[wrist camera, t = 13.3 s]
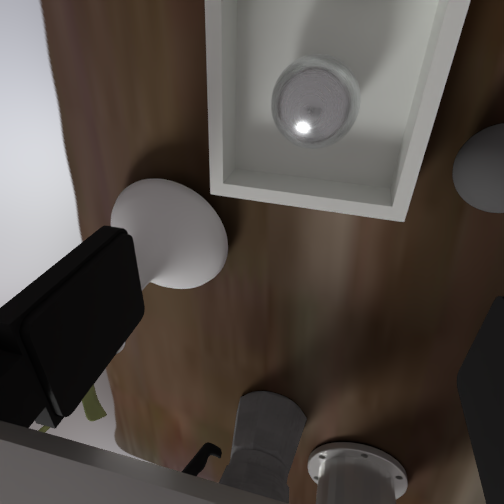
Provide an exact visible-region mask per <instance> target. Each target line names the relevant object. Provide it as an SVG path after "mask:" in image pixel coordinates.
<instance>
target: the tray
mask: <svg viewBox="0 0 504 504" xmlns="http://www.w3.org/2000/svg"><path fill="white" fill-rule="evenodd" d="M470 1H471V0H205V26H206V60H207V95H208V129H209V164H210V194H212V195H219V196H226V197H233V198H240V199H247V200H254V201H261V202H268V203H275V204H282V205H289V206H296V207H303V208H310V209H316V210H323V211H330V212H337V213H344V214H351V215H358V216H365V217H372V218H379V219H386V220H393V221H400V222H404V221H405V217H406V214H407V211H408V207H409V204H410V201H411V197H412V194H413V191H414V187H415V184H416V181H417V177H418V174H419V171H420V167H421V164H422V161H423V157H424V154H425V151H426V147H427V144H428V141H429V137H430V134H431V131H432V127H433V124H434V121H435V117H436V114H437V111H438V107H439V104H440V101H441V97H442V94H443V91H444V87H445V84H446V81H447V77H448V74H449V71H450V67H451V64H452V61H453V57H454V54H455V51H456V47H457V44H458V41H459V37H460V34H461V31H462V27H463V24H464V21H465V17H466V14H467V11H468V7H469V4H470ZM311 54H327V55H331V56H334V57H336V58H338V59H340V60H341V61H343V62H344V63H345V64H346V65H347V66H349V68H350V69H351V70H352V71H353V73H354V75H355V76H356V79H357V81H358V84H359V88H360V94H361V103H360V109H359V113H358V116H357V119H356V121H355V123H354V125H353V126H352V128H351V129H350V131H349V132H348V133H347V134H346V135H345V136H344V137H343V138H342V139H341V140H339V141H338V142H336V143H334V144H332V145H330V146H327V147H325V148H320V149H306V148H302V147H299V146H296V145H294V144H292V143H291V142H289V141H288V140H287V139H286V138H285V137H284V136H283V135H282V134H281V133H280V132H279V130H278V129H277V127H276V125H275V122H274V120H273V116H272V111H271V98H272V92H273V88H274V86H275V83H276V81H277V79H278V77H279V76H280V75H281V73H282V72H283V71H284V70H285V69H286V67H287V66H289V65H290V64H291V63H292V62H294V61H295V60H297V59H299V58H301V57H303V56H307V55H311Z"/></svg>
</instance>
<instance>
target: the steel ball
mask: <svg viewBox="0 0 504 504" xmlns="http://www.w3.org/2000/svg"><path fill="white" fill-rule="evenodd" d="M360 103H361V94H360V88H359V84H358V81H357V79H356V76H355V75H354V73H353V71H352V70H351V69H350V68H349V66H347V65H346V64H345V63H344V62H343V61H341V60H340V59H338V58H336V57H334V56H331V55H327V54H311V55H307V56H303V57H301V58H299V59H297V60H295V61H294V62H292V63H291V64H290V65H289V66H287V67H286V69H285V70H284V71H283V72H282V73H281V75H280V76H279V77H278V79H277V81H276V83H275V86H274V88H273V92H272V98H271V111H272V116H273V120H274V122H275V125H276V127H277V129H278V130H279V132H280V133H281V134H282V135H283V136H284V137H285V138H286V139H287V140H288V141H289V142H291V143H292V144H294V145H296V146H299V147H302V148H306V149H320V148H325V147H327V146H330V145H332V144H334V143H336V142H338V141H339V140H341V139H342V138H343V137H344V136H345V135H346V134H347V133H348V132H349V131H350V129H351V128H352V126H353V125H354V123H355V121H356V119H357V116H358V113H359V109H360Z"/></svg>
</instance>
